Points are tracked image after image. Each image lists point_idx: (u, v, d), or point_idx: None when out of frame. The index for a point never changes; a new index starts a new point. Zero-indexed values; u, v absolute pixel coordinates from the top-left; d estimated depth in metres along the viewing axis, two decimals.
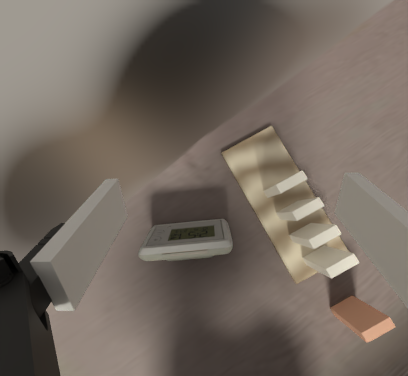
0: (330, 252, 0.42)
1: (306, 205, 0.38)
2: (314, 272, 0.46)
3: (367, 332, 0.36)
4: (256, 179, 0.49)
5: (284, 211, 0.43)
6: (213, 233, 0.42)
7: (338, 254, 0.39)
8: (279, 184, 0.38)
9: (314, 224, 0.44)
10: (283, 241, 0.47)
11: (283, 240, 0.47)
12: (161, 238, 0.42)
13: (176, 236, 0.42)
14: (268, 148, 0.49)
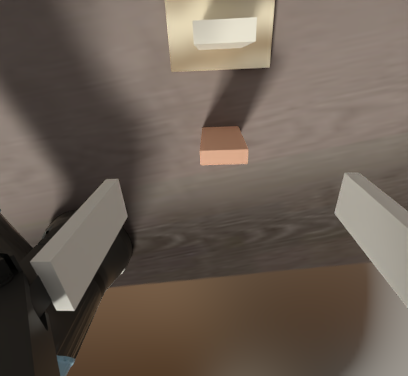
0: None
1: None
2: (204, 68, 0.29)
3: (208, 153, 0.25)
4: None
5: None
6: None
7: None
8: None
9: None
10: None
11: None
12: None
13: None
14: None
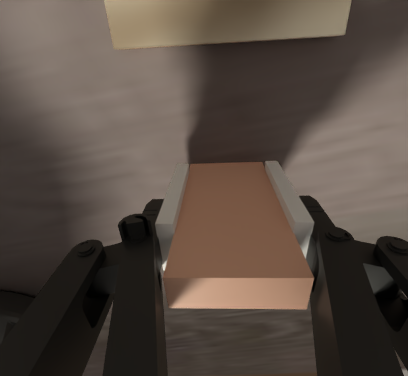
0: None
1: None
2: (189, 38, 0.12)
3: (188, 284, 0.08)
4: None
5: None
6: None
7: None
8: None
9: None
10: None
11: None
12: None
13: None
14: None
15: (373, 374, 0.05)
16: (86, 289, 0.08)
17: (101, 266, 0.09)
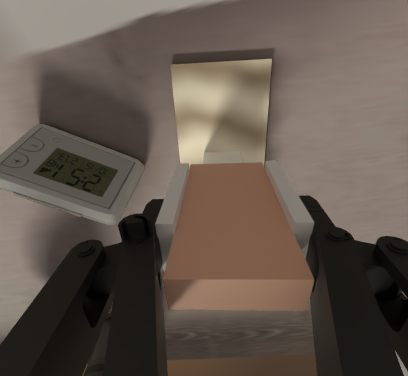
0: None
1: None
2: None
3: (188, 286, 0.08)
4: (203, 133, 0.32)
5: None
6: (104, 189, 0.30)
7: None
8: None
9: None
10: None
11: None
12: (27, 162, 0.28)
13: (52, 168, 0.29)
14: (245, 96, 0.30)
15: (373, 374, 0.05)
16: (86, 289, 0.08)
17: (101, 266, 0.09)
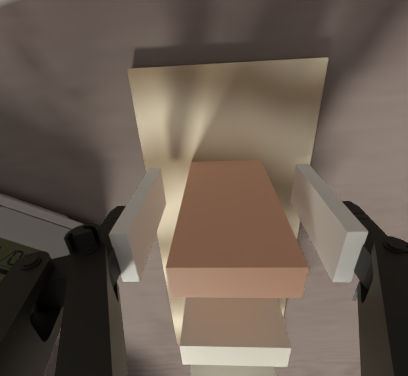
0: None
1: None
2: None
3: (190, 274, 0.09)
4: None
5: None
6: None
7: None
8: (191, 349, 0.11)
9: None
10: None
11: None
12: None
13: None
14: (271, 127, 0.16)
15: None
16: (33, 302, 0.07)
17: (49, 277, 0.08)
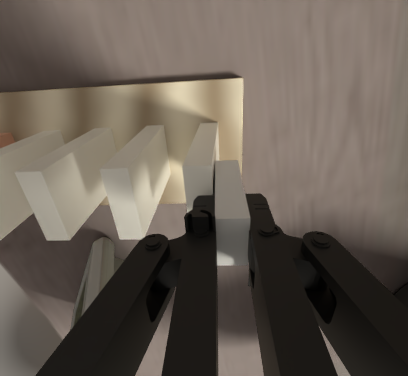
0: None
1: (34, 208, 0.15)
2: (239, 165, 0.23)
3: None
4: None
5: None
6: None
7: None
8: None
9: None
10: None
11: None
12: None
13: None
14: None
15: (306, 363, 0.05)
16: (151, 284, 0.08)
17: (165, 262, 0.09)
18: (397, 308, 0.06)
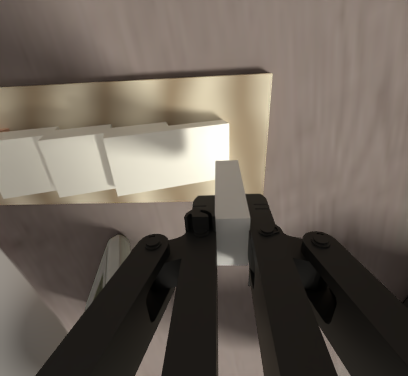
0: None
1: None
2: (262, 163, 0.23)
3: None
4: None
5: None
6: None
7: None
8: None
9: None
10: (183, 185, 0.24)
11: None
12: None
13: None
14: None
15: (306, 363, 0.05)
16: (151, 284, 0.08)
17: (165, 262, 0.09)
18: (397, 308, 0.06)
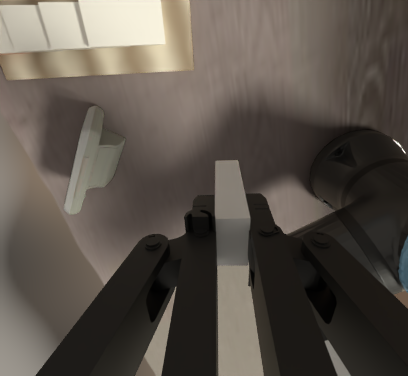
0: None
1: None
2: (189, 37, 0.34)
3: None
4: None
5: None
6: None
7: None
8: None
9: None
10: (138, 58, 0.36)
11: (137, 57, 0.35)
12: None
13: None
14: None
15: (306, 363, 0.05)
16: (151, 284, 0.08)
17: (165, 262, 0.09)
18: (397, 308, 0.06)
